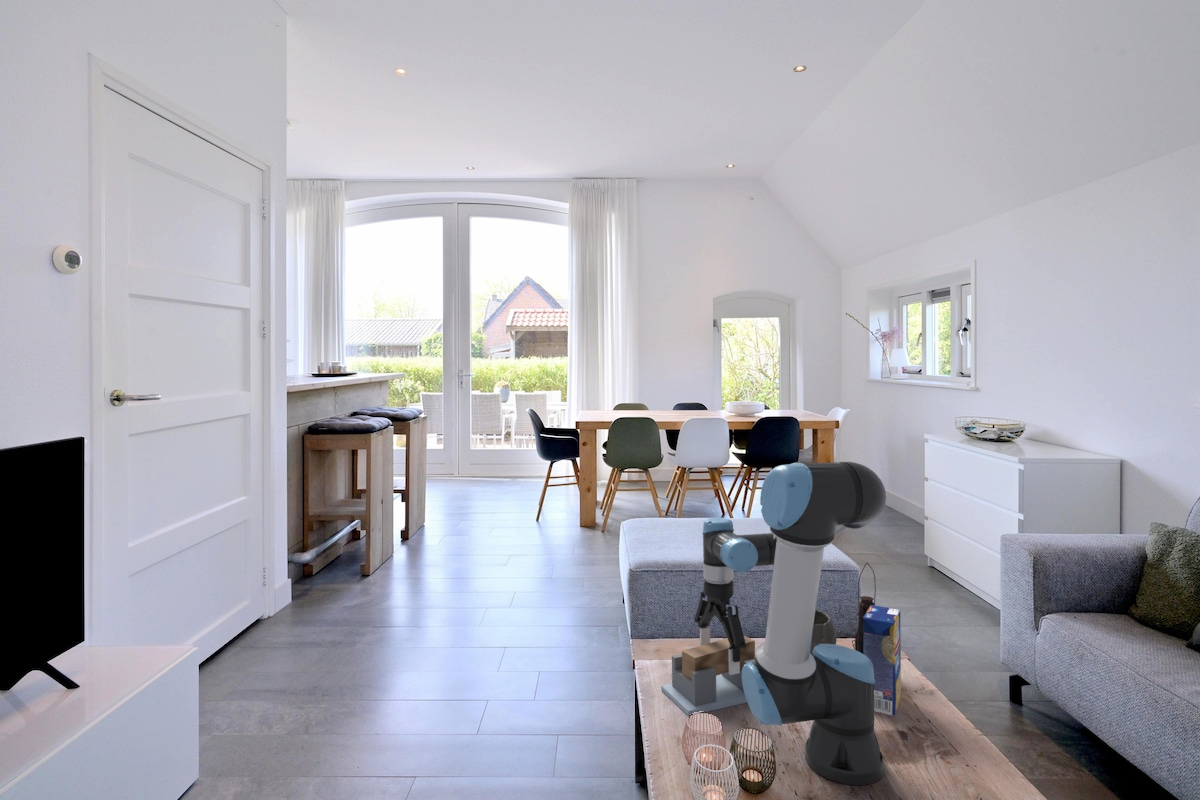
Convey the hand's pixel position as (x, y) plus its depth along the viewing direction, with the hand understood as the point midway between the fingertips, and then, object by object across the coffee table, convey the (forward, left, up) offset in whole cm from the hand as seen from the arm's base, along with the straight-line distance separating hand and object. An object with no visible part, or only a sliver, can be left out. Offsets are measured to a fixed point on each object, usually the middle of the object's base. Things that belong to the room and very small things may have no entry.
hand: (719, 662), depth 161 cm
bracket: (0, 0, -8) cm, 8 cm away
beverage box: (-20, -34, -8) cm, 40 cm away
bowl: (+8, -33, -8) cm, 35 cm away
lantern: (-6, -43, -8) cm, 44 cm away
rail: (0, 0, -2) cm, 2 cm away
